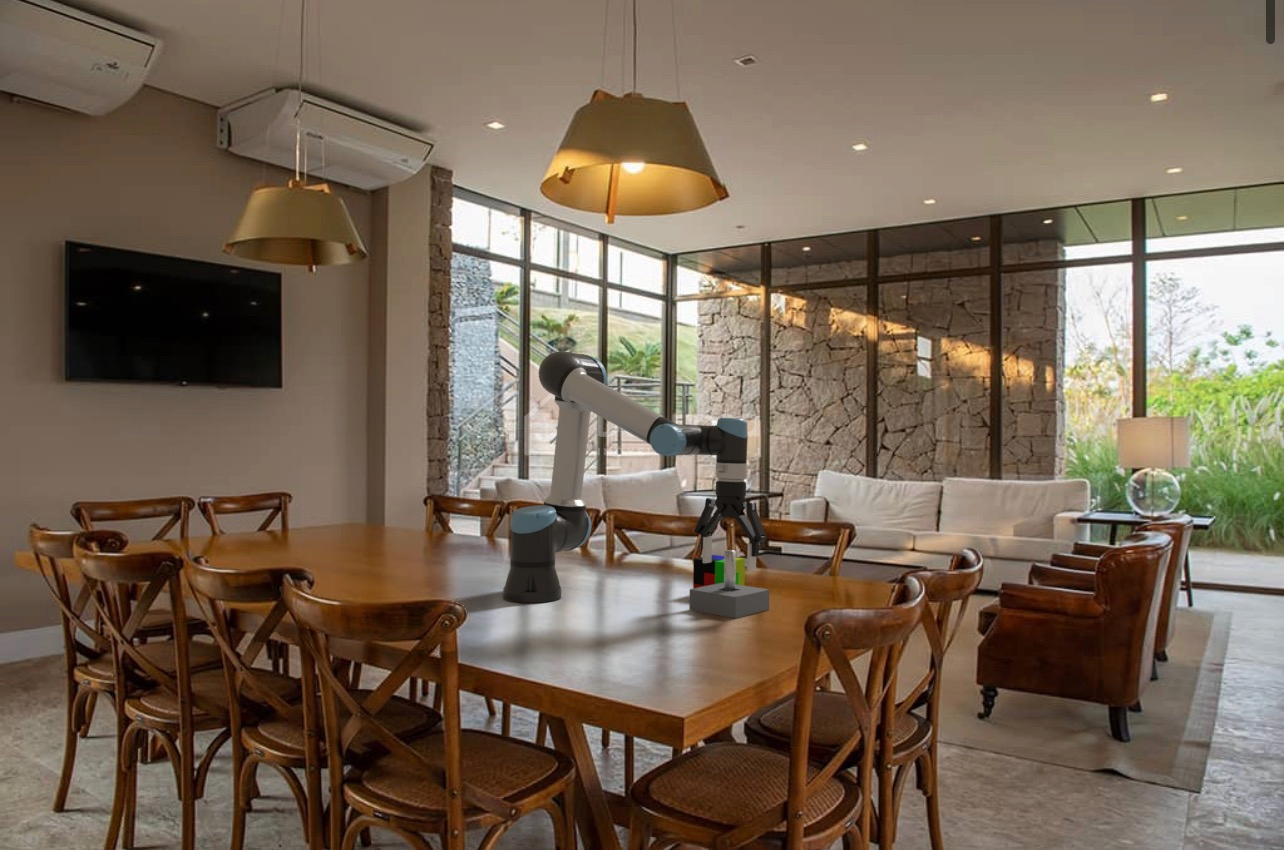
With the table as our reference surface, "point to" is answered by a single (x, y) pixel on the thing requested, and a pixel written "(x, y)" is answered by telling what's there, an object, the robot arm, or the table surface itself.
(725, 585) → the pin
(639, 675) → the table surface
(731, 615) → the socket block
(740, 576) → the puzzle toy
